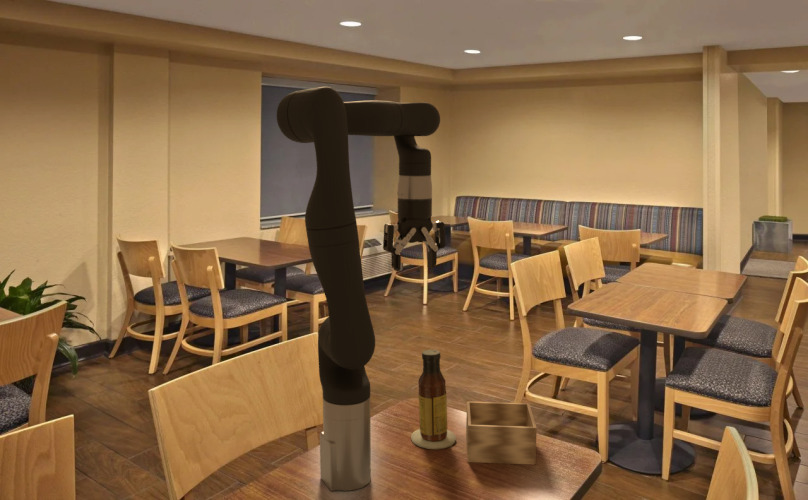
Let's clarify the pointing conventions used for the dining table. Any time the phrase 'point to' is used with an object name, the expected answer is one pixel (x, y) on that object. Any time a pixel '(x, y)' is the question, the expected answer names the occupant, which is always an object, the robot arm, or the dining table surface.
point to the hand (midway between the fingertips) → (414, 269)
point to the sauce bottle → (432, 398)
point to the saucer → (427, 444)
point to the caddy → (500, 433)
